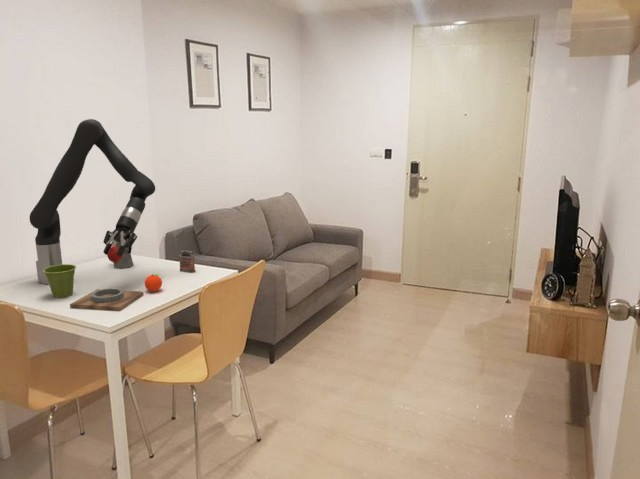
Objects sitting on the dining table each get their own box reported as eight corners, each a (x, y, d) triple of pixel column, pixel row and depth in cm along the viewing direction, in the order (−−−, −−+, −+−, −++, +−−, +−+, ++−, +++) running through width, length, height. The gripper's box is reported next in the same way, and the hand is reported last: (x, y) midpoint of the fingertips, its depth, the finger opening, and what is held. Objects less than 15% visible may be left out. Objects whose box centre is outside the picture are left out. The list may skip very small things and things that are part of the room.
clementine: (160, 286, 214) (159, 270, 213) (168, 290, 209) (166, 274, 208) (142, 290, 209) (140, 274, 207) (149, 295, 204) (148, 278, 202)
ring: (85, 301, 191) (85, 296, 191) (102, 292, 202) (102, 287, 202) (113, 303, 190) (113, 298, 189) (129, 293, 201) (128, 288, 200)
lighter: (178, 271, 237) (176, 250, 235) (182, 269, 240) (181, 249, 238) (192, 273, 234) (191, 252, 232) (196, 271, 237) (195, 250, 235)
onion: (114, 266, 202) (112, 246, 201) (105, 264, 205) (103, 245, 203) (126, 262, 207) (124, 243, 205) (117, 260, 210) (115, 242, 208)
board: (70, 308, 189) (69, 304, 189) (97, 292, 206) (97, 289, 206) (120, 311, 186) (119, 307, 186) (143, 295, 204) (143, 291, 203)
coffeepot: (107, 265, 245) (104, 229, 241) (125, 261, 253) (122, 226, 249) (124, 271, 236) (121, 233, 232) (142, 267, 243) (139, 230, 239)
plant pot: (41, 295, 203) (37, 268, 200) (71, 288, 211) (68, 262, 209) (53, 302, 195) (50, 274, 193) (84, 294, 204) (81, 267, 201)
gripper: (109, 214, 211) (91, 248, 203) (139, 216, 207) (122, 251, 198) (119, 224, 217) (102, 257, 209) (147, 226, 213) (131, 260, 205)
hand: (112, 254), depth 204 cm, fingers closed on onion, 5 cm apart
